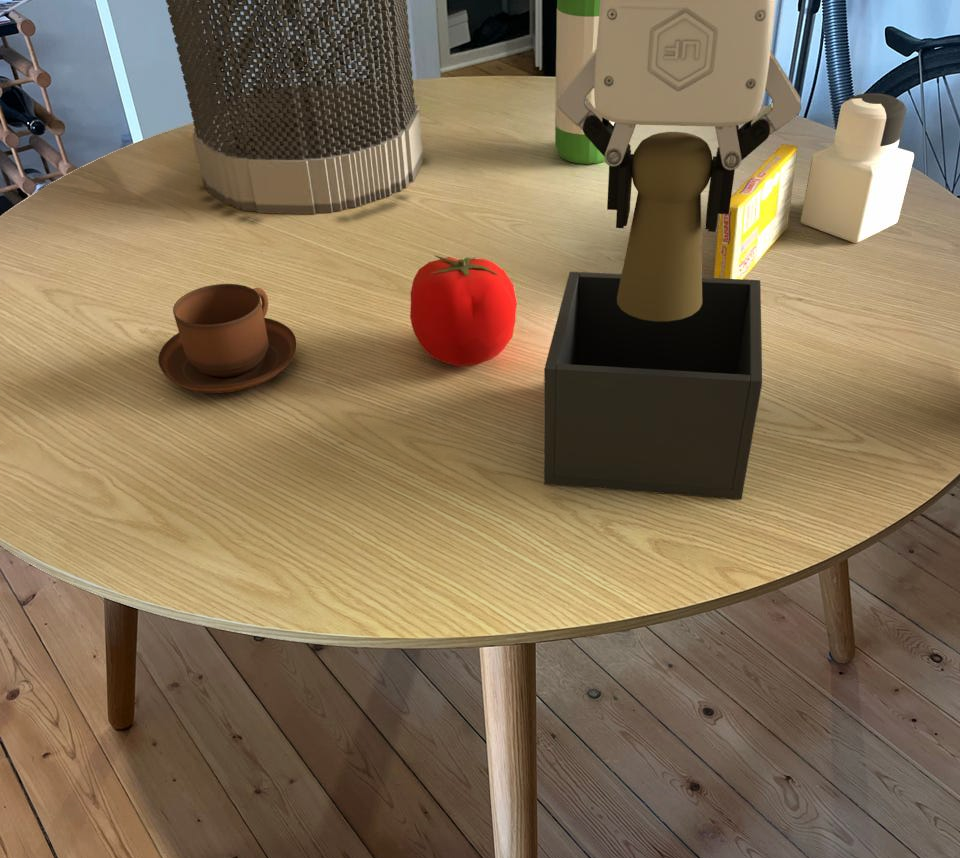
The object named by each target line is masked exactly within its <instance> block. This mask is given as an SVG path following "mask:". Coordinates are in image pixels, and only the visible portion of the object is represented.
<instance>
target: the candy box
mask: <svg viewBox="0 0 960 858" xmlns="http://www.w3.org/2000/svg"><path fill="white" fill-rule="evenodd" d="M797 155H798V145H794V144H793V145H792V144H783V143H782V144H780V146H779V147H778V148H777V149H776V150H775V151H774V152H773V153H772V154H771V155H770V156H769V157H768V158H767V159H766V160H765V162H763V164H761V165H760V167H758V168H757V170H755V171H754V173H753V174H751V176H750V177H749V178H748V179H747V180H746V181H745V182H744V183H742V185H741V186H740V187H739V188H738V189H737V190H736V191H735V192H734V193H732V194H731V202H730V209H729V214H719V217H718V225H717V227H718V229H717V238H716V239H717V240H716V249H715V262H714V272H713V278H724V279H745V278H746V276H747V275H748V274H749V273H750V272H751V270H752V269H753V268H754V267H755V266H756V264H757V263H758V262H759V261H760V260H761V259H762V258H763V257H764V255H765V254H767V252H768V251H769V249H770V248H771V247H772V246H773V245H774V244H775V242H777V240H778V238H780V237H781V236H782V234H783V233H785V231H786V230H787V229H788V225H789V217H790V216H789V215H790V208H791V202H792V195H793V187H794V186H793V185H794V178H795V170H796V164H797Z"/></svg>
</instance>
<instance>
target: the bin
mask: <svg viewBox="0 0 960 858" xmlns="http://www.w3.org/2000/svg"><path fill="white" fill-rule="evenodd" d="M621 275H622V273H609V272H587V271H586V272H585V271H582V272H581V271H569V272H568V277H567V281H566V284H565V288H564V292H563V296H562V300H561V304H560V307H559V311H558V315H557V319H556V323H555V326H554V329H553V330H554V331H553V335H552V337H551V341H550V345H549V350H548V354H547V357H546V361H545V365H544V370H543V371H544V373H543V374H544V375H543V377H544V379H543V386H544V387H543V391H544V392H543V394H544V396H543V485H548V486H549V485H550V486H562V487H575V488H589V489H600V490H612V491H613V490H616V491H628V492H640V493H651V494H652V493H653V494H666V495H681V496H690V497H691V496H693V497H705V498H706V497H707V498H719V499H731V500H742V499H743V495H744V494H743V493H744V490H745V489H744V488H745V482H746V476H747V473H748V472H747V471H748V466H749V460H750V454H751V449H752V443H753V438H754V432H755V426H756V420H757V415H758V409H759V404H760V400H761V399H760V398H761V393H762V387H763V346H762V345H763V343H762V341H763V340H762V339H763V338H762V334H763V333H762V293H761V292H762V289H761V287H762V285H761V279H746V278H743V279H724V278H714V277H702V305H701V307H700V309H699V310H698V311H697V312H696V313H694V314H693V315H691V316H689V317H686V318H683V319H680V320H674V321H649V320H643V319H639V318H636V317H633V316H630V315H629V314H627V313H626V312H624V311H622V310H621V308H620V307H619V306H618V304H617V295H618V290H619V285H620V280H621Z"/></svg>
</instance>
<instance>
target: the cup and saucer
mask: <svg viewBox="0 0 960 858" xmlns="http://www.w3.org/2000/svg"><path fill="white" fill-rule="evenodd" d="M268 310H269V297H268V295H267V293H266V291H265V290H264V289H263V288H262V287H261V288H260V287H254V288H252V287H249V286H247V285H243V284H237V283H218V284H217V283H216V284H210V285H205V286H202V287H198V288H196V289H193V290H191V291H189V292H187V293H185V294H184V295H182V296H181V297H180V298H179V299H178V300H177V301H176V302H175V303H174V305H173V307H172V313H173V317H174V320H175V324H176V327H177V330H178V332H177V333H176V334H174V335H173V336H172V337H171V338H169V339H168V340H167V341H166V342H165V343H164V344H163V345H162V347H161V349H160V350H159V353H158V356H157V362H158V366H159V369H160V370H161V372H162V374H163V375H164V376H165V378H167V380H169V381H171V382H172V383H173V384H175V385H177V386H180V387H182V388H184V389H187V390H190V391H193V392H199V393H210V394H223V393H233V392H238V391H242V390H247V389H250V388H254V387H257V386H259V385H262V384H264V383H265V382H268V381H269V380H270V381H271V379H273V378H275V377H276V376H277V375H279V374H280V373H281V372H282V371H284V370H285V369H286V368H287V366H288V365H289V364H290V363H291V362H292V360H293V359H294V358H295V355H296V353H297V352H296V351H297V338H296V335H295V333H294V332H293V330H292V329H291V328H289V327H288V326H287V325H285V324H284V323H282V322H281V321H278V320H276V319H275V320H274V319H272V318H268V317H266V315H267V313H268Z"/></svg>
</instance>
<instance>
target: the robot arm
mask: <svg viewBox="0 0 960 858" xmlns="http://www.w3.org/2000/svg"><path fill="white" fill-rule="evenodd" d="M775 11H776V0H601V2H600V12H599V23H598V35H597V48H596V50H595V51H594V53H593V54H592V55H591V56H590V57H589V59H588V60H587V61H586V62H585V64H584V65H583V66H582V67H581V69H580V70H579V71H578V72H577V74H576V75H575V76H574V77H573V79H572V80H571V81H570V82H569V83H568V85H567V86H566V87H565V88H564V90H563V91H562V92H561V94H560V97H559V100H558V108H559V109H560V110H561V111H562V112H563V113H564V114H565V115H566V116H567V117H568V118H569V119H570V120H571V121H572V122H573V123H574V124H576V125H577V126H579V127H580V128H581V129H582V130H583V132H584V134H585V136H586V137H587V138H588V139H589V140H590V141H591V142H592V143H593V145H594V146H595V147H596V148H597V149H598V150H599V151H600V152H601V153H602V155H603V156H604V157H605V161H604V162H605V163H606V164H607V165H608V181H607V182H608V183H607V203H606V209H607V211H608V210H609V211H616V217H615V229H624V227H627V226H628V223H629V216H630V211H631V200H632V187H633V179H632V173H631V168H632V158H633V155H634V153H632V149H631V148H632V147H631V144H630V142H631V139H632V137H633V134H634V131H635V129H636V126H637V125H639V126H641V125H643V126H644V125H645V126H674V127H675V126H676V127H677V126H678V127H679V126H680V127H714V128H715V133H716V138H717V139H716V140H717V144H718V147H717V148H716V149H717V150H716V153H715V155H712V160H713V166H712V174H711V177H710V180H709V185H708V186H709V188H708V195H707V204H706V212H705V213H706V214H705V228H704V230H707V232H708V233H717V227H718V221H719V215H720V214H729V209H730V202H731V196H732V195H733V187H734V178H735V173H736V170H737V169H738V168H739V167H740V166H741V163H742V161H743V160H745V159H746V158H747V157H748V156H749V155H750V154H751V153H752V152H754V151H755V150H756V149H757V148H758V147H760V146H761V145H762V144H763V143H764V142H766V141H767V139H768V138H769V136H771V135H772V134H773V133H774V132H777V131H778V130H780V129H781V128H782V127H784V126H785V125H786V124H788V123H789V122H790V121H792V120H793V119H794V118H796V117H797V116H798V115H799V114H800V113H801V111H802V99H801V96H800V95H799V92H798V91H797V90H796V88H795V87H794V85H793V84H792V82H791V80H790V79H789V77H788V75H787V74H786V72H785V71H784V69H783V67H782V66H781V64H780V62H779V61H778V60H777V58H776V56H775V54H774V53H773V51H772V41H773V32H774V23H775ZM593 88H594V99H595V107H596V109H595V108H594V107H593V106H592V104H591V103H590V102H589V101H588V99H587V95H588V94H589V93H590V91H591V90H592V89H593ZM765 93H767V94H768V96H769V98H770V99H771V101H770V103H769V105H767V106H766V107H765V108H764V109H763V110H762V111H761V108H762V105H763V102H764V99H765ZM610 121H611V122H615V123H614V125H612V124H611V123H610ZM741 125H742V126H741ZM740 126H741V127H740Z"/></svg>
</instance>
